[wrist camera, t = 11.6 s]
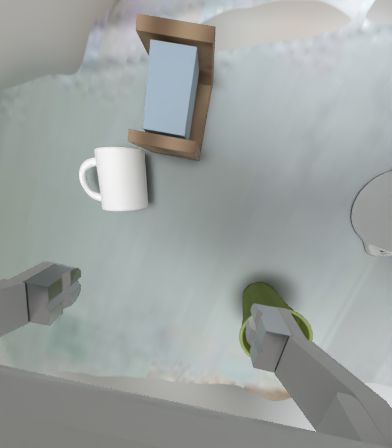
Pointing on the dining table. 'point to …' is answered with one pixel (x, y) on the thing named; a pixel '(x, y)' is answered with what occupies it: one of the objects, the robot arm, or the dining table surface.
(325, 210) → the dining table surface
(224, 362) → the dining table surface
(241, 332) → the plant pot
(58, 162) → the dining table surface
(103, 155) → the mug
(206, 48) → the stand
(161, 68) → the light blue block
